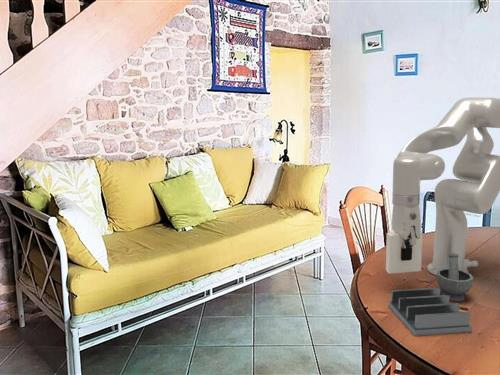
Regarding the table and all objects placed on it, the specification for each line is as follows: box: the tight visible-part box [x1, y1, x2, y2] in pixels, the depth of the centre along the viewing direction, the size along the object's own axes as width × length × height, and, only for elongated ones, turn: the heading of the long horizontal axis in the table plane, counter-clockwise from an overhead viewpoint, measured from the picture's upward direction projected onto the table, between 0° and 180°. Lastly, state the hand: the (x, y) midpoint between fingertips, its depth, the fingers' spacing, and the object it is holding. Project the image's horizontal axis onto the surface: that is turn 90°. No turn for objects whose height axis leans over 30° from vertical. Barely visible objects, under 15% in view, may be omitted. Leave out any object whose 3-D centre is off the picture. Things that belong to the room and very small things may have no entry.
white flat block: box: [385, 231, 424, 274], centre depth 133 cm, size 2×10×12 cm, turn 96°
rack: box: [388, 286, 473, 337], centre depth 118 cm, size 16×15×5 cm
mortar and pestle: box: [436, 253, 474, 302], centre depth 131 cm, size 11×9×12 cm
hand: (403, 257), depth 134 cm, fingers closed on white flat block, 2 cm apart
